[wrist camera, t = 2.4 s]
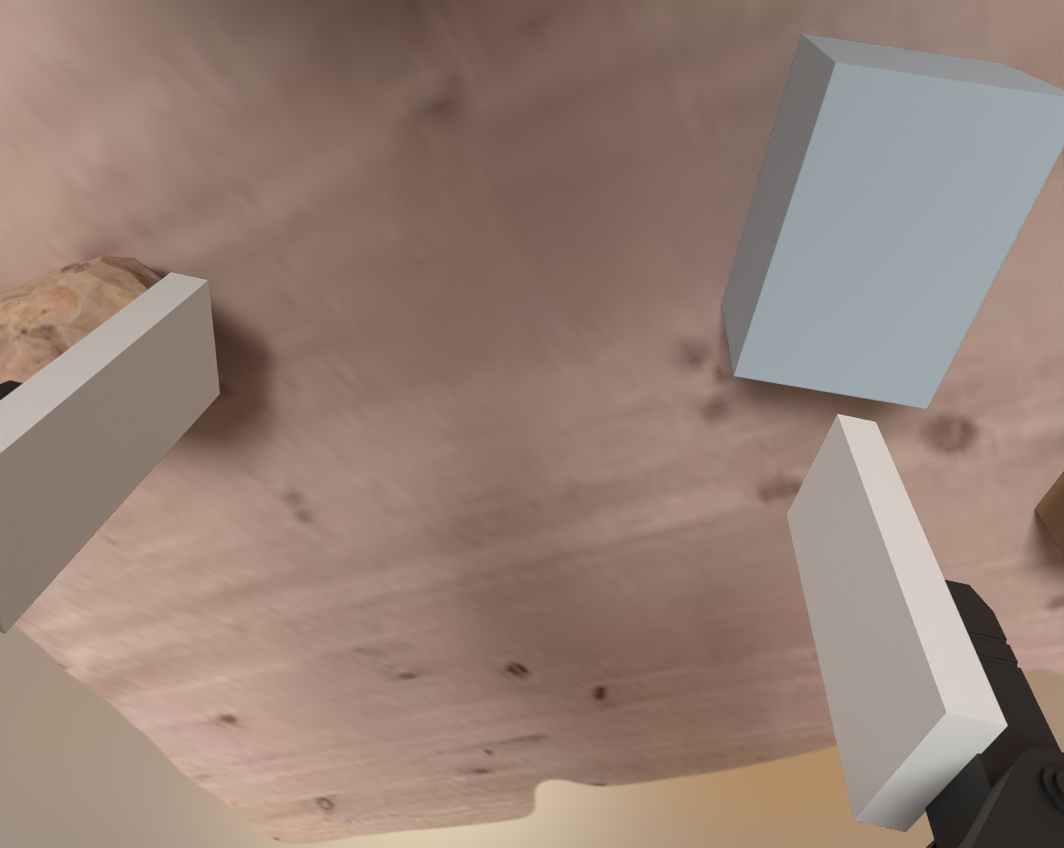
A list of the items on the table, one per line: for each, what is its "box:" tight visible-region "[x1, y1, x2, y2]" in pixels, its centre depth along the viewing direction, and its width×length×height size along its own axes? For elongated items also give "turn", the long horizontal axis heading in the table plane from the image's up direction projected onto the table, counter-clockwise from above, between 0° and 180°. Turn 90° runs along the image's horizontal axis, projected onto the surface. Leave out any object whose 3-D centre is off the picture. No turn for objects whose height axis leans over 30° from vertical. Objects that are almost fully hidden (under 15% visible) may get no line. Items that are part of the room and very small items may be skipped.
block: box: [721, 34, 1064, 409], centre depth 30 cm, size 8×12×7 cm, turn 173°
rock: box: [0, 257, 163, 384], centre depth 38 cm, size 18×10×10 cm, turn 122°
